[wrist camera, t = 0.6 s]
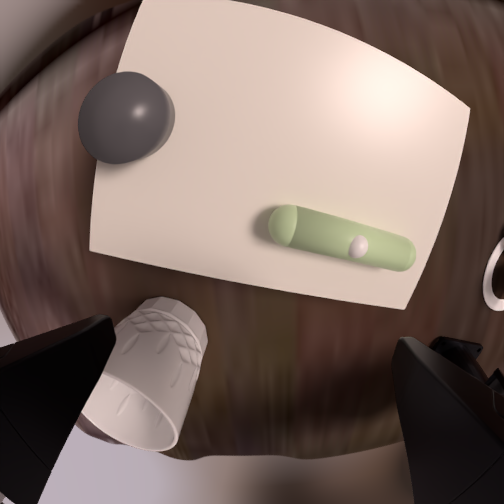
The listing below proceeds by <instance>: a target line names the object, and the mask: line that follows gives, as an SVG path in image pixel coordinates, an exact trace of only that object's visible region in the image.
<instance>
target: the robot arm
mask: <svg viewBox="0 0 504 504" xmlns="http://www.w3.org/2000/svg"><path fill="white" fill-rule="evenodd" d="M442 342H443V343H442ZM115 344H116V334H115V330H114V326H113V322H112V319H111V318H110V317H109V316H107V315H101V314H99V315H95V316H93V317H90V318H87V319H84V320H81V321H78V322H75V323H72V324H69V325H66V326H63V327H60V328H57V329H54V330H51V331H49V332H46V333H43V334H40V335H37V336H34V337H31V338H28V339H25V340H22V341H19V342H16V343H15V344H10V345H7V346H4V347H0V504H4V503H3V502H2V501H3V499H4V498H5V496H6V497H7V498H8V499H9V500H11V501H12V502H13V503H15V504H37V503H38V501H39V499H40V496H41V494H42V492H43V490H44V487H45V485H46V483H47V480H48V478H49V476H50V474H51V470H52V469H53V467H54V465H55V463H56V461H57V459H58V457H59V454H60V452H61V450H62V448H63V446H64V444H65V442H66V440H67V438H68V436H69V434H70V432H71V431H72V429H73V427H74V425H75V423H76V421H77V419H78V417H79V415H80V413H81V412H82V410H83V408H84V406H85V404H86V402H87V401H88V399H89V397H90V395H91V393H92V392H93V390H94V388H95V386H96V384H97V383H98V381H99V379H100V377H101V375H102V373H103V370H104V368H105V366H106V364H107V361H108V359H109V357H110V355H111V353H112V351H113V348H114V346H115ZM482 349H483V347H482V345H481V344H478V343H473V342H468V341H463V340H458V339H453V338H448V337H441V338H440V339H439V340H438V342H437V343H436V345H435V346H434V348H433V350H432V349H430V348H429V347H427V346H426V345H424V344H423V343H421V342H419V341H418V340H416V339H415V338H413V337H401V338H400V339H399V340H398V342H397V345H396V349H395V352H394V355H393V358H392V364H391V365H392V373H393V380H394V387H395V395H396V403H397V409H398V414H399V419H400V423H401V427H402V432H403V437H404V442H405V447H406V452H407V457H408V463H409V469H410V475H411V482H412V488H413V496H414V504H504V375H503V373H502V372H501V371H500V370H499V368H497V369H496V370H495V371H494V372H493V374H492V376H491V377H490V378H489V379H488V377H487V376H486V374H485V373H484V371H483V370H482V368H481V367H480V365H479V364H478V362H477V361H476V359H477V357H478V356H479V354H480V353H481V351H482Z"/></svg>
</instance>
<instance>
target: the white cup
mask: <svg viewBox="0 0 504 504" xmlns="http://www.w3.org/2000/svg"><path fill="white" fill-rule="evenodd" d="M114 330H115V334H116V344H115V346H114V348H113V351H112V353H111V355H110V357H109V359H108V361H107V364H106V366H105V368H104V370H103V373H102V375H101V377H100V379H99V381H98V383H97V384H96V386H95V388H94V390H93V392H92V393H91V395H90V397H89V399H88V401H87V402H86V404H85V406H84V408H83V410H82V413H83V415H84V416H85V417H86V418H87V419H88V420H89V421H90V422H92V423H93V424H94V425H95V426H96V427H98V428H99V429H100V430H102V431H103V432H104V433H106V434H107V435H109V436H111V437H112V438H114V439H116V440H118V441H120V442H122V443H124V444H126V445H129V446H132V447H135V448H138V449H142V450H147V451H165V450H169V449H171V448H173V447H174V446H175V445H176V443H177V441H178V438H179V435H180V432H181V429H182V426H183V422H184V419H185V416H186V413H187V410H188V407H189V404H190V401H191V398H192V396H193V392H194V388H195V384H196V382H197V379H198V375H199V371H200V369H201V368H200V365H201V361H202V357H203V354H204V351H205V349H206V346H207V343H208V339H207V333H206V327H205V325H204V324H203V322H202V321H201V319H200V318H199V317H198V315H197V314H196V312H195V311H194V310H192V309H191V308H189V307H188V306H186V305H185V304H183V303H182V302H180V301H178V300H174V299H170V298H166V297H157V298H152V299H147V300H146V301H144V302H143V303H142V304H141V305H140V306H139V307H138V308H137V309H136V310H135V311H134V312H133V313H132V314H130V315H129V316H128V317H125V318H124V319H123V320H122V321H121V322H120V323H119V324H117V325H116V326H115V327H114Z"/></svg>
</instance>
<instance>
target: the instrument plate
mask: <svg viewBox="0 0 504 504" xmlns="http://www.w3.org/2000/svg"><path fill="white" fill-rule="evenodd" d="M469 113H470V108H469V107H467V106H466V105H465V104H464V103H462V102H461V101H460V100H459V99H457V98H456V97H455V96H453V95H452V94H450V93H449V92H448V91H446V90H445V89H443V88H442V87H441V86H439V85H438V84H436V83H435V82H433V81H432V80H430V79H429V78H427V77H426V76H424V75H423V74H421V73H419V72H418V71H416V70H414V69H413V68H411V67H409V66H408V65H406V64H404V63H403V62H401V61H399V60H397V59H395V58H394V57H392V56H390V55H388V54H386V53H384V52H382V51H380V50H378V49H376V48H374V47H372V46H370V45H368V44H366V43H364V42H362V41H360V40H357V39H355V38H353V37H351V36H348V35H346V34H344V33H341V32H339V31H336V30H334V29H331V28H329V27H326V26H323V25H321V24H318V23H315V22H312V21H309V20H306V19H303V18H300V17H297V16H293V15H290V14H287V13H283V12H280V11H276V10H272V9H268V8H264V7H260V6H255V5H251V4H246V3H241V2H235V1H230V0H143V2H142V4H141V6H140V8H139V11H138V13H137V16H136V18H135V21H134V23H133V26H132V28H131V31H130V34H129V36H128V39H127V42H126V45H125V48H124V51H123V54H122V57H121V60H120V63H119V66H118V69H117V73H115V74H112V75H110V76H107V77H106V78H104V79H102V80H101V81H100V82H98V83H97V84H96V85H95V86H94V87H93V88H92V89H91V90H90V91H89V93H88V94H87V96H86V97H85V99H84V101H83V103H82V106H81V109H80V112H79V118H78V131H79V136H80V139H81V142H82V144H83V146H84V147H85V149H86V150H87V151H88V152H89V154H90V155H92V156H93V157H94V158H96V159H97V165H96V173H95V181H94V189H93V199H92V211H91V225H90V250H89V251H93V252H97V253H101V254H106V255H110V256H114V257H119V258H123V259H128V260H132V261H137V262H141V263H146V264H150V265H155V266H159V267H164V268H169V269H174V270H178V271H183V272H188V273H193V274H198V275H203V276H208V277H213V278H218V279H223V280H228V281H233V282H239V283H244V284H249V285H255V286H260V287H266V288H271V289H277V290H282V291H288V292H294V293H300V294H306V295H312V296H318V297H324V298H330V299H336V300H342V301H349V302H355V303H362V304H369V305H375V306H382V307H389V308H396V309H405V307H406V305H407V303H408V301H409V299H410V297H411V295H412V293H413V291H414V289H415V287H416V285H417V282H418V280H419V278H420V276H421V274H422V271H423V269H424V267H425V264H426V262H427V260H428V257H429V255H430V252H431V250H432V247H433V245H434V242H435V239H436V237H437V234H438V231H439V229H440V226H441V223H442V220H443V217H444V214H445V211H446V208H447V205H448V202H449V199H450V196H451V192H452V189H453V185H454V182H455V178H456V175H457V171H458V167H459V163H460V159H461V154H462V150H463V145H464V141H465V136H466V131H467V125H468V119H469Z"/></svg>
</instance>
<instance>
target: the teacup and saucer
mask: <svg viewBox="0 0 504 504" xmlns="http://www.w3.org/2000/svg"><path fill="white" fill-rule="evenodd" d="M503 250H504V237H503V238H502V239H501V241H500V242H499V243H498V244H497V246H496V247H495V249H494V251H493V252H492V254H491V256H490V259H489V261H488V264H487V267H486V270H485V274H484V279H483V296H484V299H485V302H486V304H487V305H488V306H489V307H490V308H491V309H493V310H495V311H502V310H504V300H501V299H498V298H497V297H495V295H494V294H493V291H492V285H491V282H492V274H493V270H494V267H495V264H496V262H497V260H498V258H499V256H500V254H501V253H502V252H503Z"/></svg>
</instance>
